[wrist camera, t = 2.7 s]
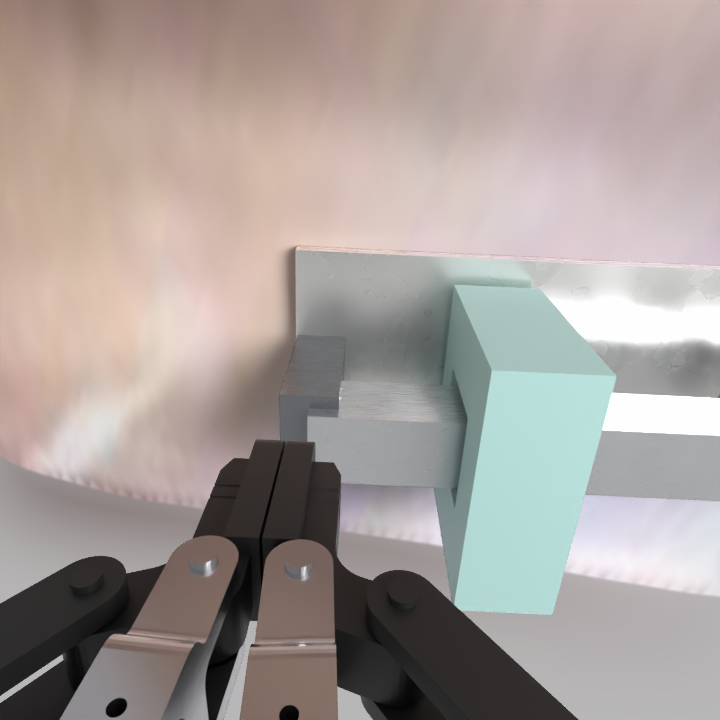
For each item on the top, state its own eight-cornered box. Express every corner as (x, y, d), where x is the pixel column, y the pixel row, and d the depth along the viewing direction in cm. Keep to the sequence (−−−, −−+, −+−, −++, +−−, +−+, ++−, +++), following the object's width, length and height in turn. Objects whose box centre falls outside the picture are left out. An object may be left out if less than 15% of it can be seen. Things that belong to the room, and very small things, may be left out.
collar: (454, 284, 26) (491, 370, 18) (539, 288, 26) (616, 376, 18) (431, 473, 30) (453, 610, 22) (504, 476, 30) (552, 614, 22)
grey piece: (297, 245, 27) (270, 298, 20) (897, 274, 27) (1084, 336, 20) (298, 466, 32) (278, 569, 25) (795, 490, 32) (912, 599, 25)
